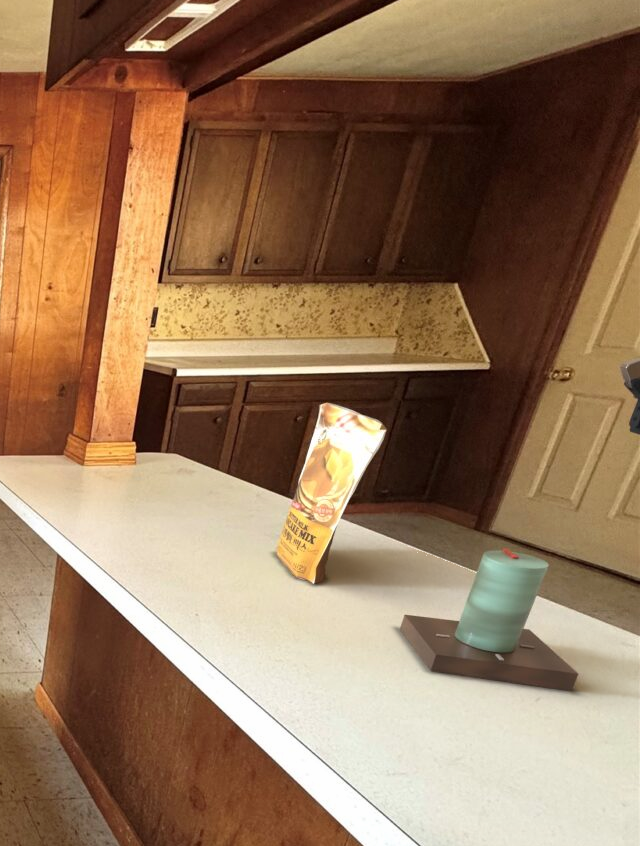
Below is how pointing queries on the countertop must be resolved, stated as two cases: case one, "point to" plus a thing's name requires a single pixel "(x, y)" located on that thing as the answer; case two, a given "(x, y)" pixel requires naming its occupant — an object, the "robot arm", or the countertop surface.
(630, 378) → the robot arm
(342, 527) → the countertop surface
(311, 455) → the pancake mix bag
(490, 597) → the mint green cylinder
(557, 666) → the dark brown slab
